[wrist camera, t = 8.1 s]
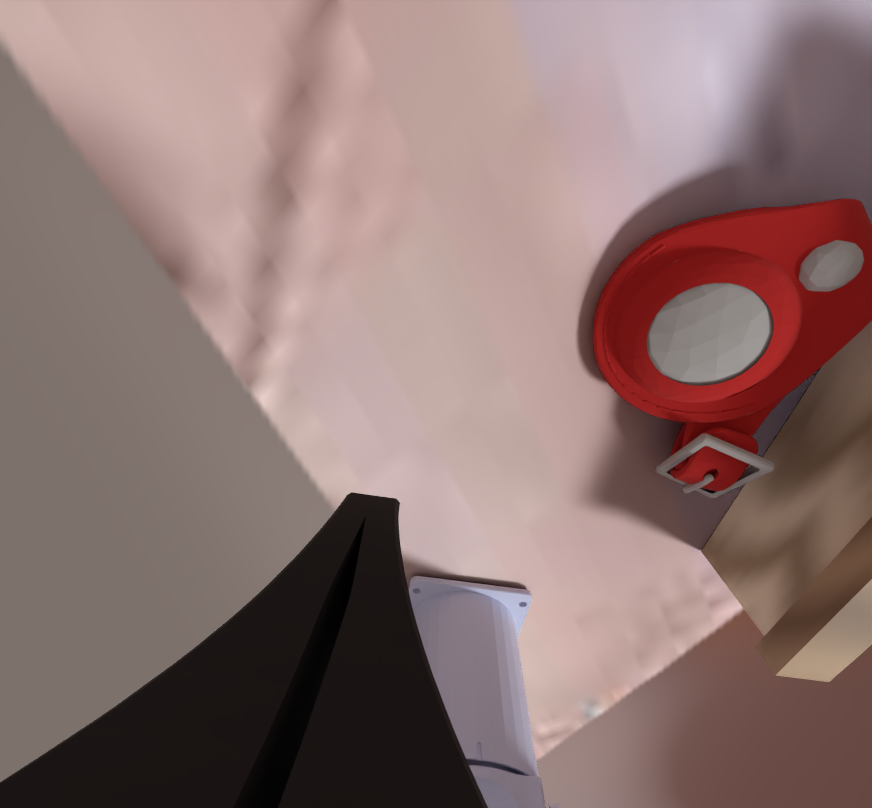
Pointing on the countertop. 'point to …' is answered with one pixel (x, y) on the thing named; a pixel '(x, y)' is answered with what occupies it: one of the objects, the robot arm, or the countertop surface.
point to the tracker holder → (732, 326)
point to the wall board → (809, 527)
